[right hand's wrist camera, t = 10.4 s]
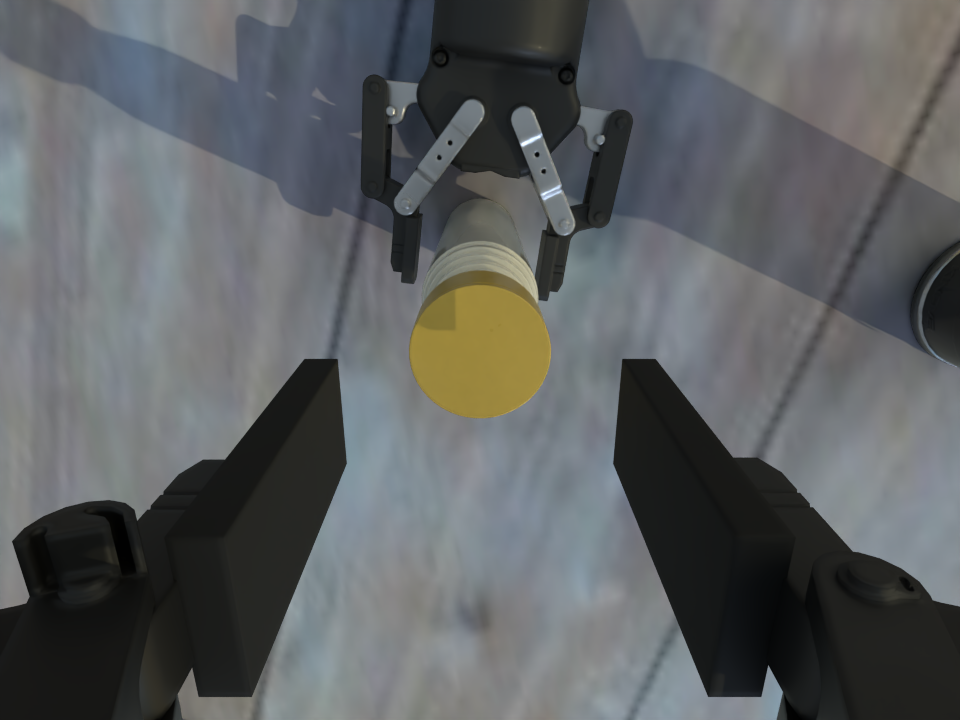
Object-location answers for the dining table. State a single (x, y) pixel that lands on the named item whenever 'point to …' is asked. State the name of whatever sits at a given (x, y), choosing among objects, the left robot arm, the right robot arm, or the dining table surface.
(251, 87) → the dining table surface
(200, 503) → the right robot arm
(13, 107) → the dining table surface
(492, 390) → the cap
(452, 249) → the bottle
